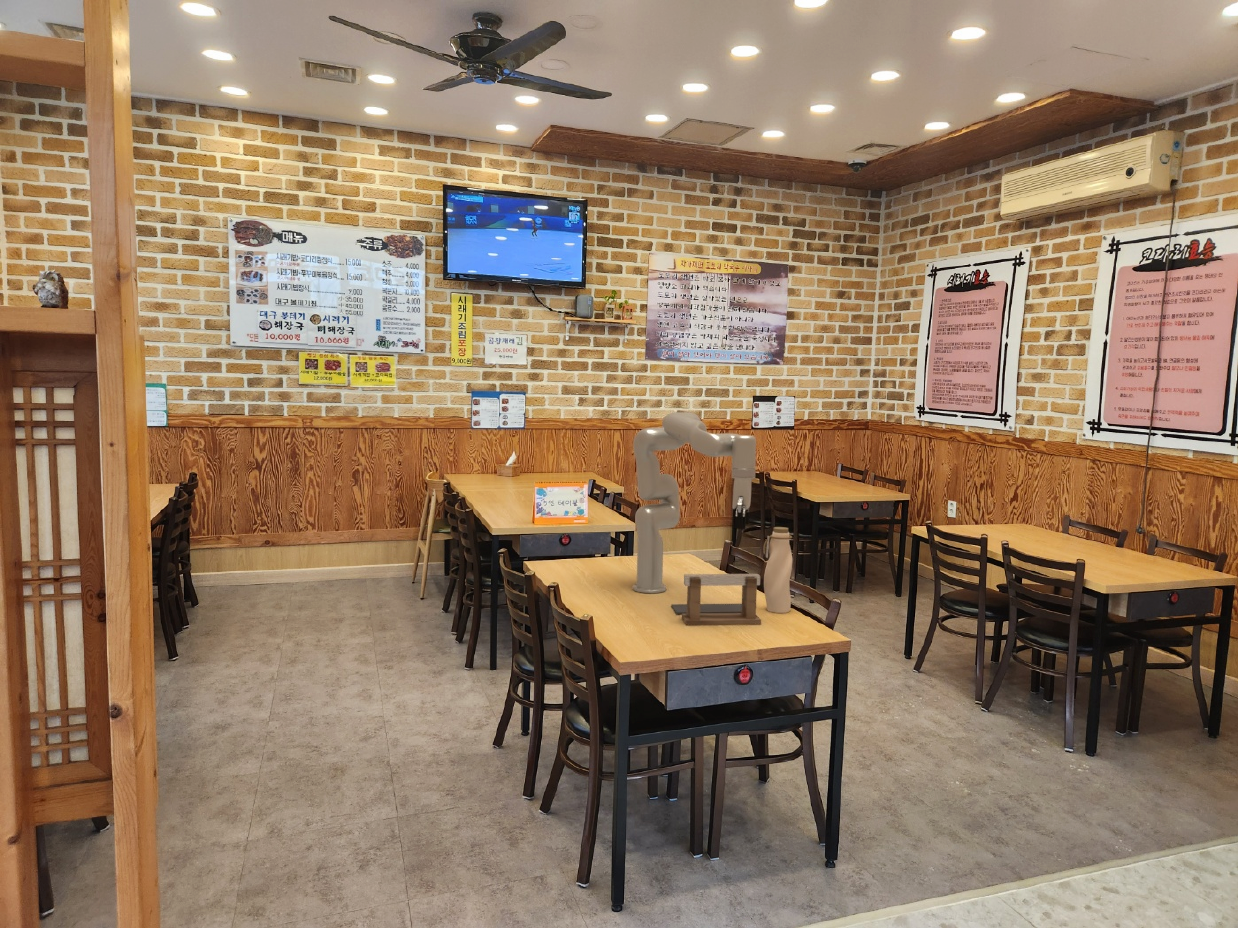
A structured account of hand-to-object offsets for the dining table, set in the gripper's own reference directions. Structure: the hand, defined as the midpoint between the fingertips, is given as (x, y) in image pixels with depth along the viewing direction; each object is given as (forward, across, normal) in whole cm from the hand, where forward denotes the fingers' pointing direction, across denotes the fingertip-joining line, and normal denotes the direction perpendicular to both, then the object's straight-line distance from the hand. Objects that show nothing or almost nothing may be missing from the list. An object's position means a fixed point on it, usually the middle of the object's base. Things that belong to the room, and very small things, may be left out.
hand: (742, 526), depth 255 cm
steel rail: (+18, +6, -5) cm, 20 cm away
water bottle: (+30, -13, +11) cm, 35 cm away
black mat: (+30, -6, -10) cm, 32 cm away
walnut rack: (+30, +6, -5) cm, 31 cm away
